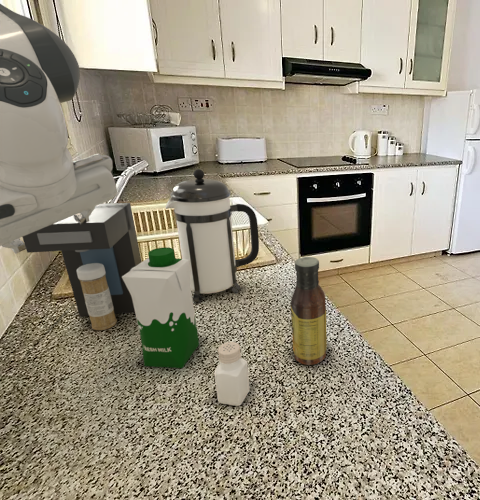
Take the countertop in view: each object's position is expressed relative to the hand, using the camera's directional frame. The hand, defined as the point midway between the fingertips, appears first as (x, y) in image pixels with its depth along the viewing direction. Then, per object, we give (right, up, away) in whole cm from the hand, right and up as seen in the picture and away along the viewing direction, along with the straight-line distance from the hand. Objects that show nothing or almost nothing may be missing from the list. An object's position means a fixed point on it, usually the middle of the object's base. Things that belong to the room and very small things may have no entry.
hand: (51, 233), depth 60 cm
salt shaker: (+29, -27, 0) cm, 39 cm away
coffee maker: (-4, -18, +19) cm, 27 cm away
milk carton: (+15, -22, +10) cm, 29 cm away
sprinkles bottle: (-4, -19, +18) cm, 26 cm away
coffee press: (+14, -12, +35) cm, 40 cm away
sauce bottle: (+40, -23, +10) cm, 48 cm away
